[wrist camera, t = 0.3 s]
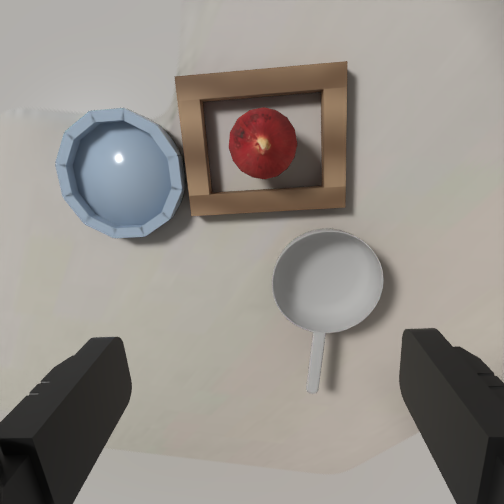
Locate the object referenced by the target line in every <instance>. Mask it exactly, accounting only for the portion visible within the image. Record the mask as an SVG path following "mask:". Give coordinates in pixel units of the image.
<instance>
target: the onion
mask: <svg viewBox="0 0 504 504" xmlns="http://www.w3.org/2000/svg"><path fill="white" fill-rule="evenodd" d="M296 147H297V139H296V134H295V129H294V127H293V126H292V124H291V123H290V121H289V120H288V118H287V117H285V116H284V115H282V114H281V113H279V112H278V111H276V110H273V109H269V108H265V107H263V108H258V109H253V110H249V111H248V112H247V113H245V114H244V115H242V116H241V117H239V118H238V119H237V121H236V123H235V125H234V126H233V128H232V130H231V132H230V139H229V150H230V153H231V156H232V159H233V161H234V163H235V164H236V165H237V166H238V168H239V169H240V170H241V171H242V172H244V173H246V174H248V175H249V176H251V177H254V178H260V179H268V178H272V177H276V176H278V175H279V174H281V173H282V172H283V171H285V170H286V169H287V168H288V167H289V165H290V163H291V162H292V160H293V159H294V157H295V152H296Z"/></svg>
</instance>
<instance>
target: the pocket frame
mask: <svg viewBox="0 0 504 504" xmlns="http://www.w3.org/2000/svg"><path fill="white" fill-rule="evenodd" d="M175 84H176V92H177V100H178V108H179V117H180V125H181V133H182V142H183V150H184V158H185V166H186V175H187V183H188V191H189V199H190V208H191V216H202V215H220V214H237V213H255V212H273V211H291V210H309V209H326V208H344V207H345V197H346V124H347V61H345V62H334V63H322V64H311V65H300V66H289V67H277V68H266V69H255V70H244V71H232V72H221V73H210V74H198V75H187V76H176V77H175ZM316 92H321V151H322V186H311V187H295V188H279V189H263V190H246V191H230V192H214V193H212V186H211V176H210V166H209V156H208V146H207V137H206V127H205V117H204V107H203V102H207V101H219V100H231V99H243V98H255V97H267V96H280V95H292V94H304V93H316Z"/></svg>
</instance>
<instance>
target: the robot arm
mask: <svg viewBox="0 0 504 504" xmlns="http://www.w3.org/2000/svg"><path fill="white" fill-rule="evenodd" d="M399 382H400V389H401V394H402V397H403V400H404V402H405V404H406V406H407V408H408V410H409V412H410V414H411V416H412V418H413V420H414V421H415V423H416V425H417V427H418V429H419V431H420V433H421V435H422V437H423V439H424V441H425V443H426V445H427V447H428V449H429V451H430V453H431V454H432V457H433V458H434V460H435V462H436V464H437V466H438V468H439V470H440V472H441V474H442V476H443V478H444V480H445V482H446V484H447V486H448V488H449V490H450V492H451V493H452V495H453V497H454V499H455V501H456V503H457V504H504V383H503V382H502V381H501V380H500V379H499V378H498V377H497V376H494V373H493V372H492V371H491V370H490V368H489V367H488V366H487V365H486V364H485V363H484V362H483V361H482V360H481V359H480V358H478V357H476V356H475V355H473V354H471V353H470V352H468V351H466V350H465V349H463V348H461V347H453V346H452V345H451V344H450V343H449V342H448V341H447V340H446V339H445V337H444V336H443V335H442V334H441V333H440V332H439V331H438V330H437V329H435V328H424V329H405V330H404V332H403V336H402V348H401V361H400V374H399ZM131 390H132V382H131V377H130V372H129V368H128V363H127V358H126V353H125V349H124V344H123V341H122V340H121V338H119V337H96V338H91V339H90V340H89V341H88V342H87V343H86V344H85V345H84V346H83V347H82V348H81V349H80V350H79V351H78V352H77V353H76V354H75V355H74V356H71V357H69V358H68V359H66V360H65V361H63V362H62V363H60V364H59V365H57V366H55V367H54V368H53V369H52V370H51V371H50V372H49V373H48V374H47V375H46V376H45V377H44V378H43V379H42V380H41V383H40V384H37V385H36V386H35V387H34V388H33V390H32V391H31V392H30V394H29V396H26V397H25V398H24V399H23V400H22V401H21V402H20V403H19V404H18V405H17V406H16V407H15V408H14V409H13V410H12V411H11V412H10V413H9V414H8V415H7V416H6V417H5V418H4V419H3V420H2V421H1V422H0V504H73V502H74V500H75V498H76V497H77V495H78V493H79V491H80V489H81V488H82V486H83V484H84V482H85V481H86V479H87V477H88V475H89V473H90V472H91V470H92V468H93V466H94V464H95V463H96V461H97V459H98V457H99V455H100V453H101V452H102V450H103V448H104V446H105V445H106V443H107V441H108V439H109V437H110V436H111V434H112V432H113V430H114V428H115V427H116V425H117V423H118V421H119V419H120V418H121V416H122V414H123V412H124V410H125V409H126V407H127V405H128V403H129V400H130V396H131Z"/></svg>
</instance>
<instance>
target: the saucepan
mask: <svg viewBox="0 0 504 504" xmlns="http://www.w3.org/2000/svg"><path fill="white" fill-rule="evenodd" d="M383 281H384V279H383V270H382V267H381V263H380V261H379V259H378V257H377V255H376V254H375V252H374V251H373V250H372V249H371V248H370V246H368V245H367V244H366V243H365V242H364V241H362V240H361V239H360V238H358V237H356V236H354V235H352V234H350V233H347V232H344V231H342V230H337V229H318V230H312V231H309V232H307V233H304V234H302V235H300V236H298V237H297V238H295V239H294V240H293V241H291V242H290V243H289V244H288V245H287V246H286V247H285V248H284V250H283V251H282V252H281V254H280V256H279V257H278V259H277V262H276V264H275V267H274V271H273V276H272V292H273V297H274V299H275V302H276V304H277V306H278V308H279V310H280V311H281V313H282V314H283V315H284V316H285V317H286V318H287V319H288V320H289V321H291V322H292V323H293V324H294V325H296V326H298V327H300V328H302V329H305V330H308V331H311V332H313V337H312V345H311V353H310V361H309V370H308V378H307V386H306V390H307V392H309V393H317V392H318V388H319V381H320V373H321V366H322V358H323V351H324V343H325V336H326V333H334V332H340V331H343V330H346V329H349V328H351V327H353V326H355V325H357V324H358V323H360V322H361V321H363V320H364V319H365V318H366V317H367V316H368V315H369V314H370V313H371V312H372V311H373V309H374V308H375V307H376V305H377V303H378V301H379V299H380V296H381V293H382V290H383Z"/></svg>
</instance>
